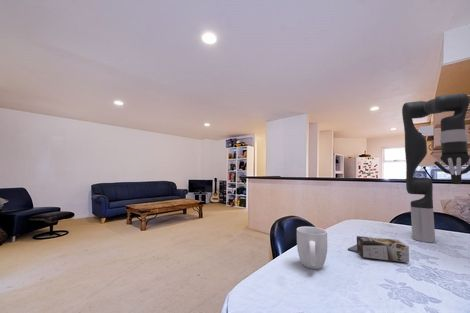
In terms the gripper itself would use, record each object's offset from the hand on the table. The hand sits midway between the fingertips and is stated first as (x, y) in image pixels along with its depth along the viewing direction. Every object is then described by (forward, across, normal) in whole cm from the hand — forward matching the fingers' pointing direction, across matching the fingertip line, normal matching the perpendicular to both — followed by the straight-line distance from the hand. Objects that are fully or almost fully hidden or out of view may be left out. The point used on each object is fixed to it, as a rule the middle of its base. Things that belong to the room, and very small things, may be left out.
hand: (456, 184), depth 86 cm
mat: (+31, +26, +12) cm, 43 cm away
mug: (+31, +35, +50) cm, 69 cm away
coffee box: (+27, +15, +14) cm, 34 cm away
